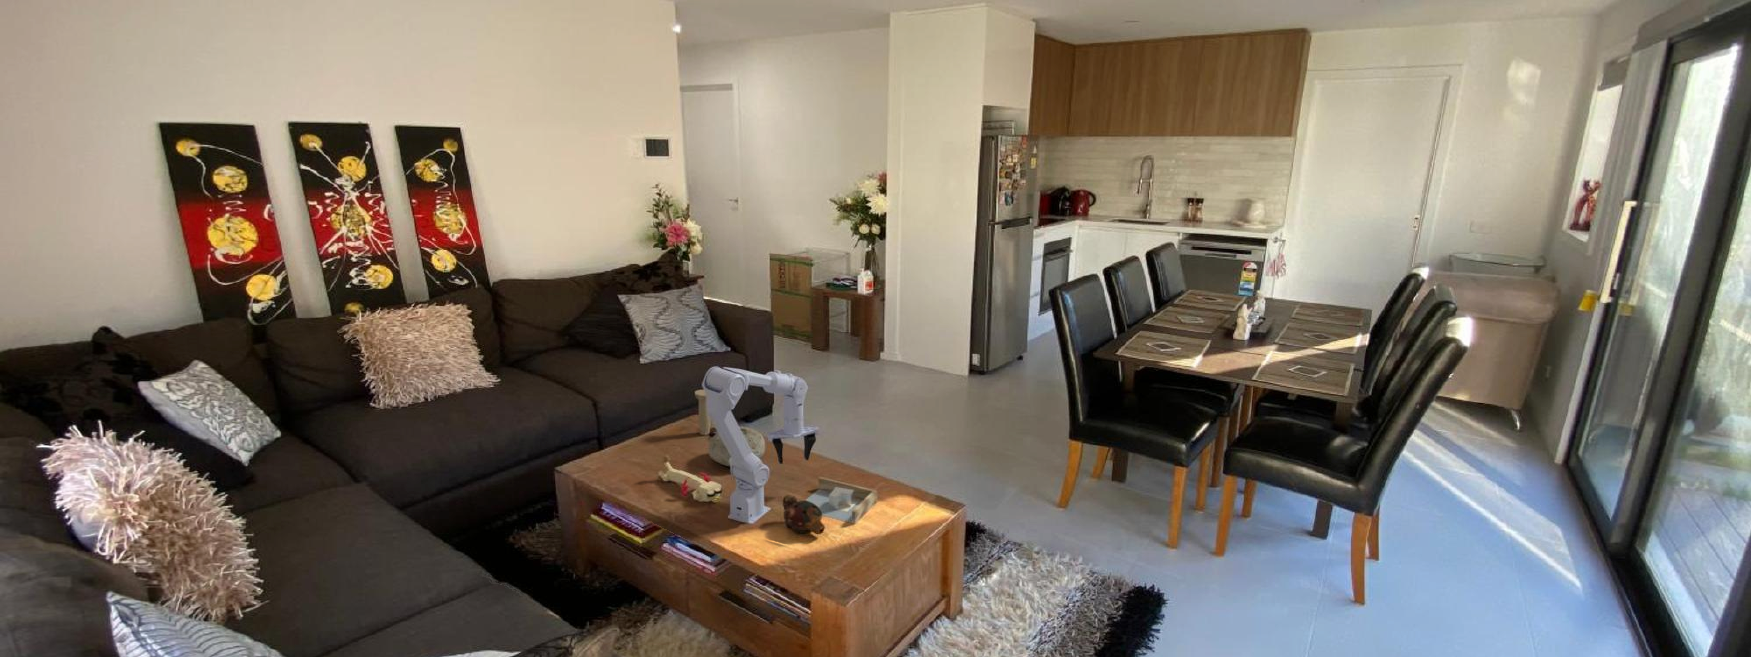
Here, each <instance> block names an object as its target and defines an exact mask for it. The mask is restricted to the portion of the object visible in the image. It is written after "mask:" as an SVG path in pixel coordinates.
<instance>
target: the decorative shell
mask: <svg viewBox="0 0 1751 657" xmlns="http://www.w3.org/2000/svg"><path fill="white" fill-rule="evenodd" d="M739 428H740V430H741V432H742V434H743V436H744V438H745V439H746V441H747V443H748V445H749V447H750V449H751V451H752V453H753V454H755V455H756V456H757V457H758V458H759V459H760V460H761V458H762V457H763V456H764V454H765V451H766V442H765V437H763V434H762V433H760V432H759V431H758V430H757V429H754V428H751V427H747V426H739ZM707 449H708V455H709V457H711V459H712V460H713V461H715V462H716V463H719V464H720V465H723V466H726V467H730V464H729V460H730V458H731V456H730V454H729V452H728V450H727V448H726V446H725V445H724V443H723V441H722V439H721V437H720V435H719V434H718V432H717V433H716V434H715V435H713V436H712V437H710V441H709V444H708V446H707Z"/></svg>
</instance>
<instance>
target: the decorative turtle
mask: <svg viewBox="0 0 1751 657" xmlns="http://www.w3.org/2000/svg"><path fill="white" fill-rule="evenodd" d="M782 506H783V509H784V511H783V520H784V522H785V526H786V527H787V529H793V531H794V533H795V534H797V535H799V536H800V535H803V534H805V531H810V532H811V533H814V534H815V535H821V534H822V533H823V532H824V531H825V528H826V527H825V524H823V522H822V520H823V519H822V518H823V516H822V512H821V510H820V509H819V507H818V506H816V505H815V504H813V503H811V502H809V501H805V500H799V501H798V499H797V497H796V496H795V495H793V494H786V495H785V496H784V497H783V500H782Z"/></svg>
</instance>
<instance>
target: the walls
mask: <svg viewBox="0 0 1751 657" xmlns="http://www.w3.org/2000/svg"><path fill="white" fill-rule="evenodd" d="M835 487H839V488H845V489H851V490H854V498H856V499H860V500H863V501H862V502H861V503H860V504H859V505H858V506H857V507H856V508H855V509H854V510H853V511H852V523H851V524H853V525H856V524H857V523H858V522H859V521H860V520H861V519H862V518H863V517H864V516H865V515H866V514H867V513H868V512H870V510H871V509H872V508H873V507H874V506H875V505H876V504H877V503H878V490H877V489H874V488H868V487H864V486H862V485H861V486H860V485H856V484H852V483H848V482H844V481H839V480H835V479H832V478H828V477H823V476H819V477H818V489H820V490H824V491H828V492H832V491H833V490H834V489H835Z"/></svg>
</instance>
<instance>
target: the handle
mask: <svg viewBox="0 0 1751 657" xmlns="http://www.w3.org/2000/svg"><path fill="white" fill-rule="evenodd" d="M694 396H695V398H696V399H697V400H698V428H699V430H700V435H701V436H707V435H710V429H711V419H710V417H709V415H708V413H707V406H706V393H705V390H704V389H698V390H695V391H694Z"/></svg>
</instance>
